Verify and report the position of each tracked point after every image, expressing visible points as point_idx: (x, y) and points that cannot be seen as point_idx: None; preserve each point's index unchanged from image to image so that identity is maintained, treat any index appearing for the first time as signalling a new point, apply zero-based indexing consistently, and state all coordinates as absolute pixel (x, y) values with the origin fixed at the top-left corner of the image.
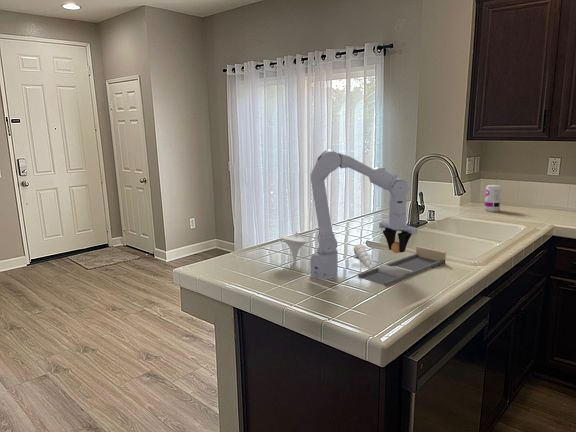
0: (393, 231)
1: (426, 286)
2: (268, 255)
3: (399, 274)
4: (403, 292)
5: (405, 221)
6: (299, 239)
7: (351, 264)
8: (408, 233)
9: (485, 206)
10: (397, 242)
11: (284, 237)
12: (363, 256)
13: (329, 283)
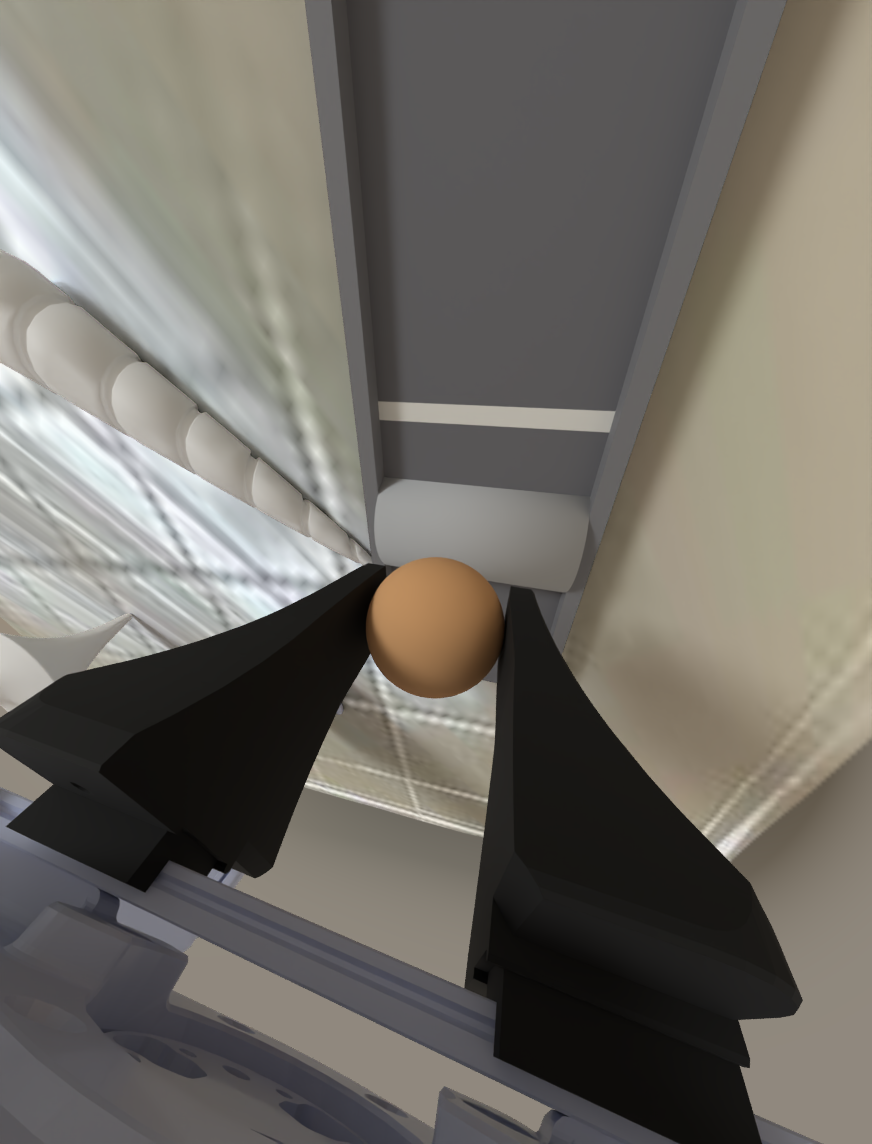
0: (218, 786)
1: (753, 599)
2: (48, 605)
3: (542, 588)
4: (638, 702)
5: None
6: None
7: (225, 521)
8: (691, 1046)
9: None
10: (429, 688)
11: None
12: (186, 466)
13: (365, 714)
